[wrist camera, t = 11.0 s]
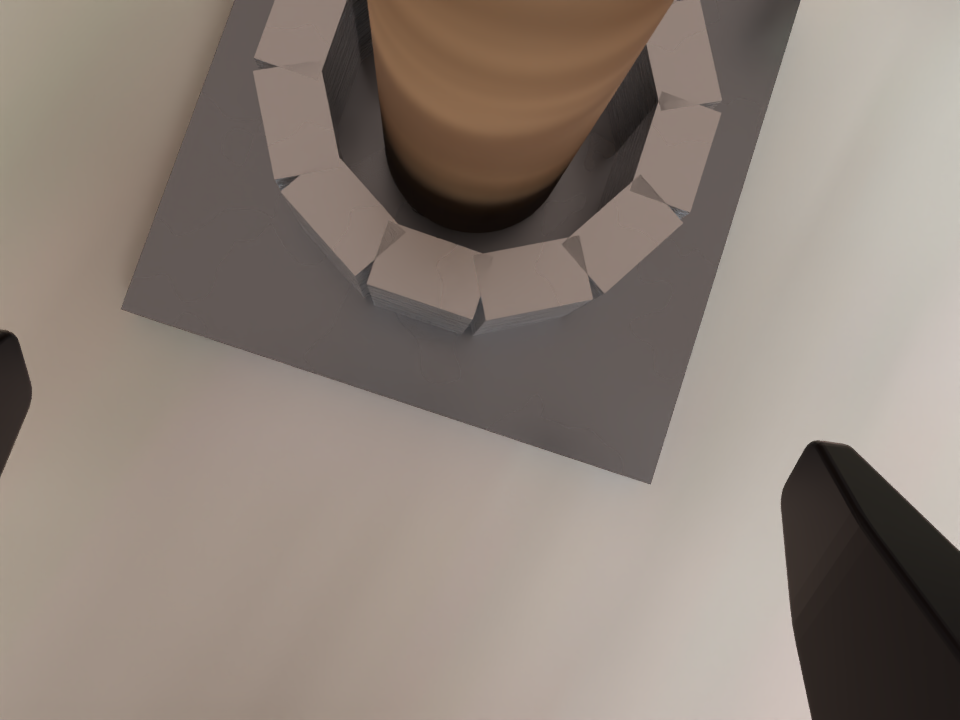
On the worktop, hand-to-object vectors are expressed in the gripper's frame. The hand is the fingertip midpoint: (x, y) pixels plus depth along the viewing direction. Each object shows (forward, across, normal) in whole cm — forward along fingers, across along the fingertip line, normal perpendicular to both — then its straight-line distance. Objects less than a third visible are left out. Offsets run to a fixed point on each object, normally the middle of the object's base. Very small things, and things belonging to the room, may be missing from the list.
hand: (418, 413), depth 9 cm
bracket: (+11, 0, +2) cm, 11 cm away
